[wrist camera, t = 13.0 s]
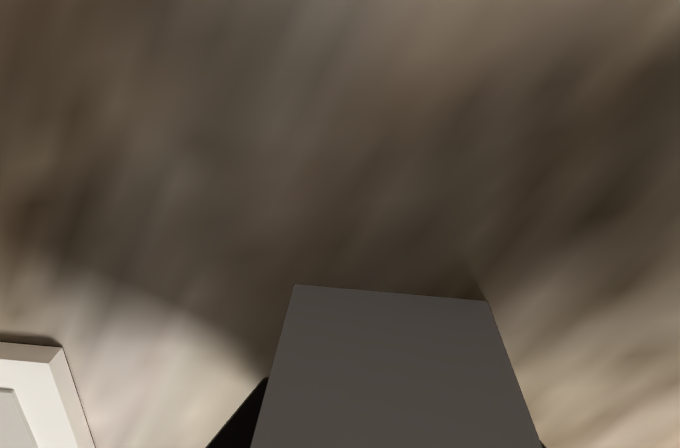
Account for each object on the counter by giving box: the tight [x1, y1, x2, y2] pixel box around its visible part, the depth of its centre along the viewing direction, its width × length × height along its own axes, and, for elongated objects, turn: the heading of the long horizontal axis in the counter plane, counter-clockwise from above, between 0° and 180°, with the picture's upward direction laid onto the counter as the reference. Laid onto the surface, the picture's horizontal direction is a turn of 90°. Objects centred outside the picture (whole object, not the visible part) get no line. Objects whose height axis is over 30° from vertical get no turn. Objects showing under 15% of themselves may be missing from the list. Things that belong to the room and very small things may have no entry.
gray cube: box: [250, 284, 542, 448], centre depth 8 cm, size 4×4×4 cm
